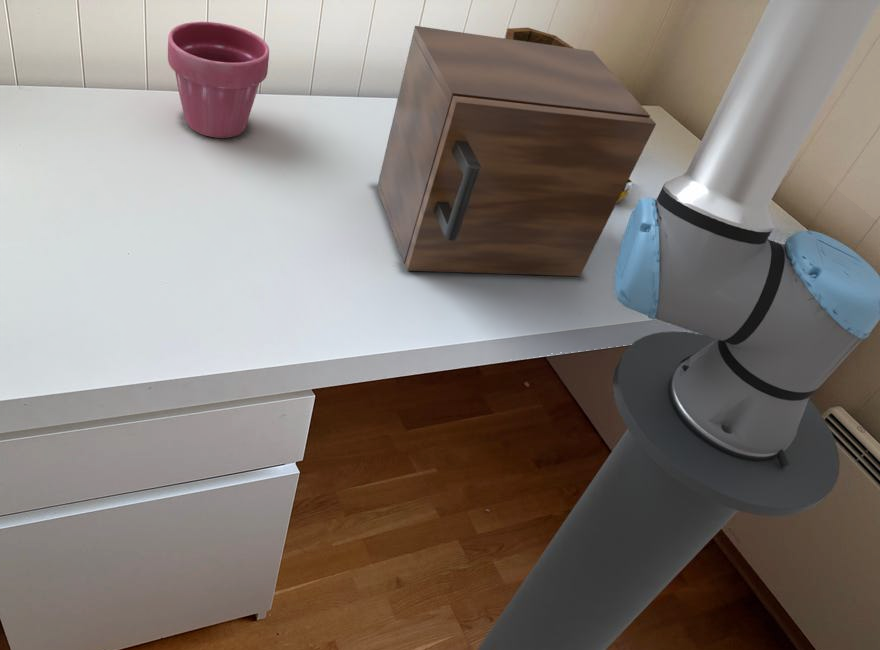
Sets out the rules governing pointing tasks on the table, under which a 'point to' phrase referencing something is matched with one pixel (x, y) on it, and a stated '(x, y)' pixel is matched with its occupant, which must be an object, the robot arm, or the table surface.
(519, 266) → the cupboard door
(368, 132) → the table surface
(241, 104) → the flower pot
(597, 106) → the cupboard
